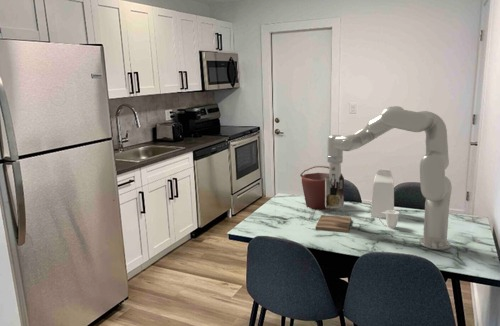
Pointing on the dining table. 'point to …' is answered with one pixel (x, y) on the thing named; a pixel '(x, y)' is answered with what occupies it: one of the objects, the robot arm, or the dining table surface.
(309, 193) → the bucket
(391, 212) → the cup
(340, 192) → the coffee box
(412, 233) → the dining table surface
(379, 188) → the milk
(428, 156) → the robot arm
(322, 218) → the walnut board
